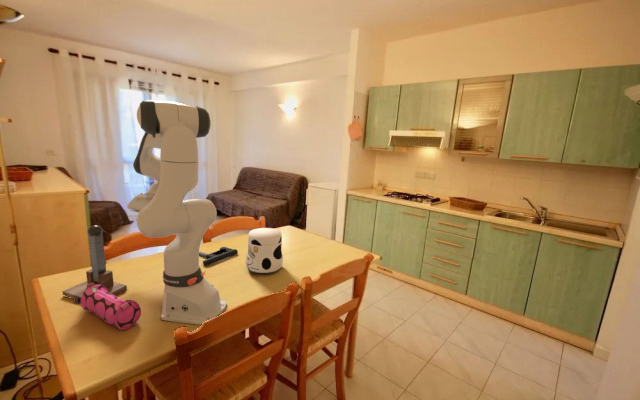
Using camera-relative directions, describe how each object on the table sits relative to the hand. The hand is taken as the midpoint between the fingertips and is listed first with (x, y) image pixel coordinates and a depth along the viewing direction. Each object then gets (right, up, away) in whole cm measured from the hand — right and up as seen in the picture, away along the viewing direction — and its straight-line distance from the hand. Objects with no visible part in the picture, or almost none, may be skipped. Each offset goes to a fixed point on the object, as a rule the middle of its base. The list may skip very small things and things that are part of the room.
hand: (139, 221), depth 123 cm
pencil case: (+8, -30, -28) cm, 42 cm away
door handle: (+23, -20, +25) cm, 39 cm away
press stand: (-8, -26, -14) cm, 31 cm away
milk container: (+51, -24, +15) cm, 58 cm away
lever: (-7, -21, -13) cm, 26 cm away
